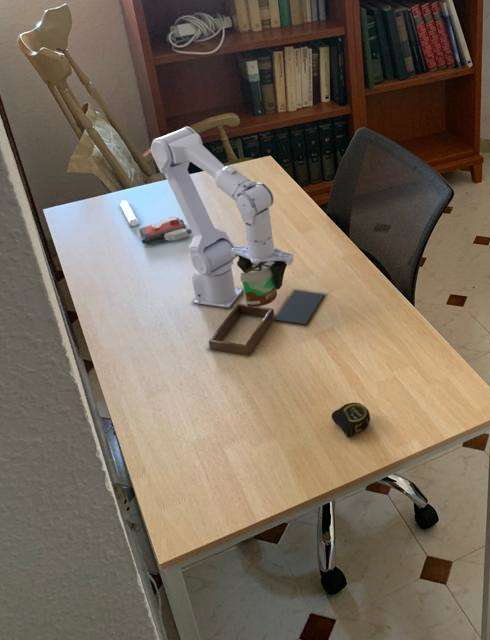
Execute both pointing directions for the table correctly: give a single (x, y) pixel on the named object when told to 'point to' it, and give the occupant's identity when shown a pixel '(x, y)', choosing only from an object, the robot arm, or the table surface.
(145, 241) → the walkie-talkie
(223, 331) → the walnut tray
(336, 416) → the tape measure
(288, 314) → the rubber mat
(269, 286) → the food container
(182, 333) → the table surface
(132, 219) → the marker
